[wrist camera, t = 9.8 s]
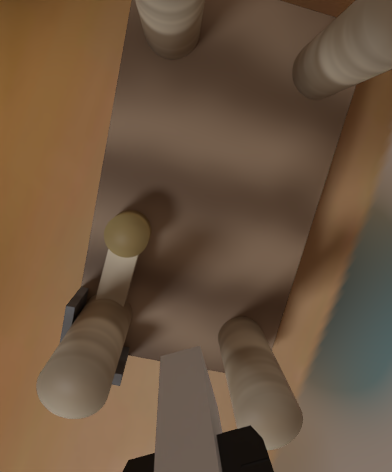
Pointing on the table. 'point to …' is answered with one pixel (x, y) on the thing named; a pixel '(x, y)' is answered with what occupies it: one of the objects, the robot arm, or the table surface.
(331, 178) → the table surface
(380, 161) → the table surface
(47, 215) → the table surface
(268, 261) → the peg board
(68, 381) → the hinged leg
